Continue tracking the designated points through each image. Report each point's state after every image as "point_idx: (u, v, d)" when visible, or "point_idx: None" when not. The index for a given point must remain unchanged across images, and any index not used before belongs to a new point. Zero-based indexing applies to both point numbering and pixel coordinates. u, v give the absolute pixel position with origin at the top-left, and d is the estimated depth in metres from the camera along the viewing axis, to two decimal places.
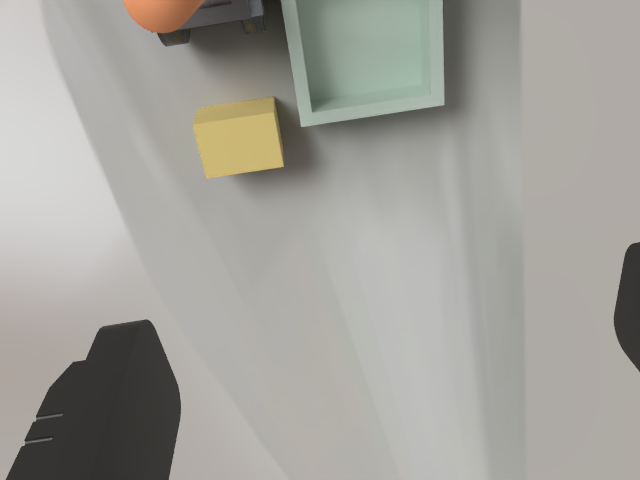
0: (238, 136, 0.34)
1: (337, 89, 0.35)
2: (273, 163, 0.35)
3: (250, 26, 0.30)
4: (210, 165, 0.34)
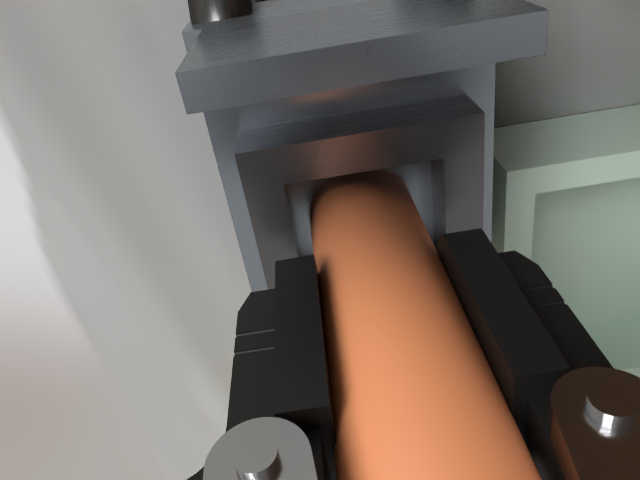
0: None
1: None
2: None
3: None
4: None
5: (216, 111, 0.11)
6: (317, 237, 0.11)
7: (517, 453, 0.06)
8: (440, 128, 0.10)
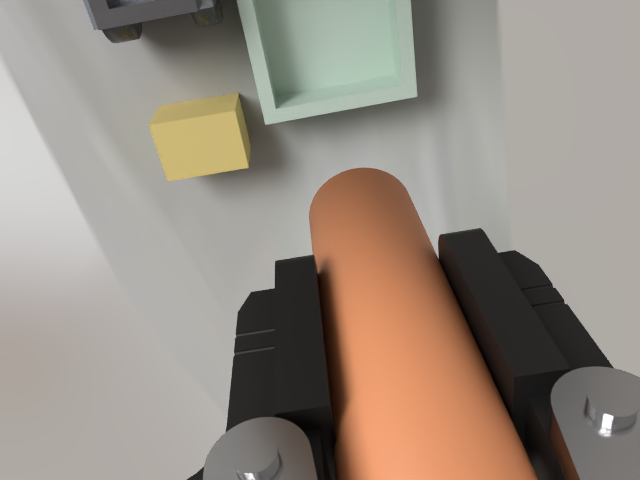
0: (199, 136, 0.32)
1: (304, 82, 0.33)
2: (237, 164, 0.33)
3: (202, 18, 0.28)
4: (171, 168, 0.32)
5: None
6: (317, 239, 0.11)
7: (515, 456, 0.06)
8: None
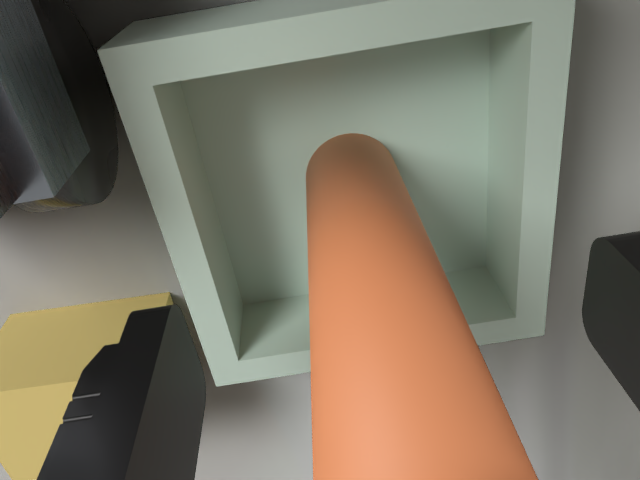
0: None
1: (301, 281, 0.16)
2: None
3: (42, 205, 0.11)
4: (18, 463, 0.15)
5: None
6: (309, 187, 0.13)
7: (448, 303, 0.08)
8: None
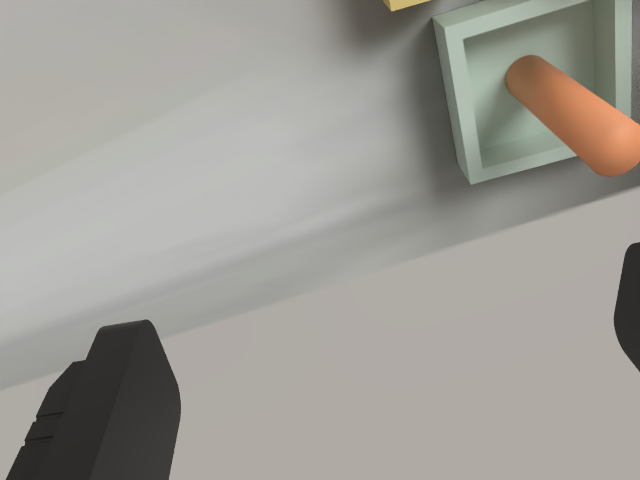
0: None
1: (465, 60, 0.30)
2: None
3: None
4: None
5: None
6: (548, 64, 0.28)
7: None
8: None
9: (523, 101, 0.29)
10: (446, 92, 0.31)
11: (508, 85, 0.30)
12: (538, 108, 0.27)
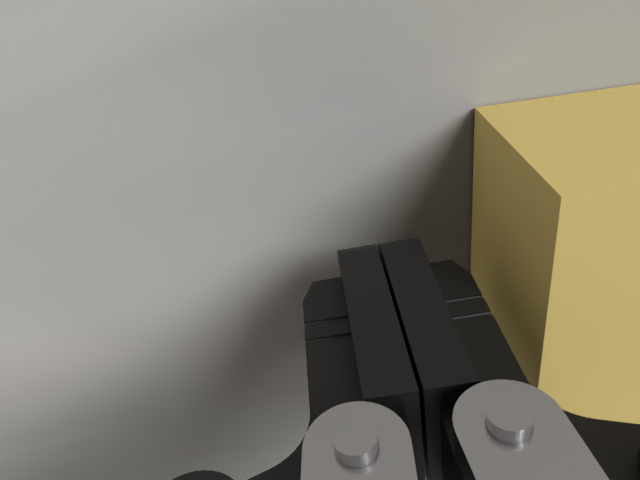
0: None
1: None
2: None
3: None
4: (620, 219, 0.07)
5: None
6: None
7: None
8: None
9: None
10: None
11: None
12: None
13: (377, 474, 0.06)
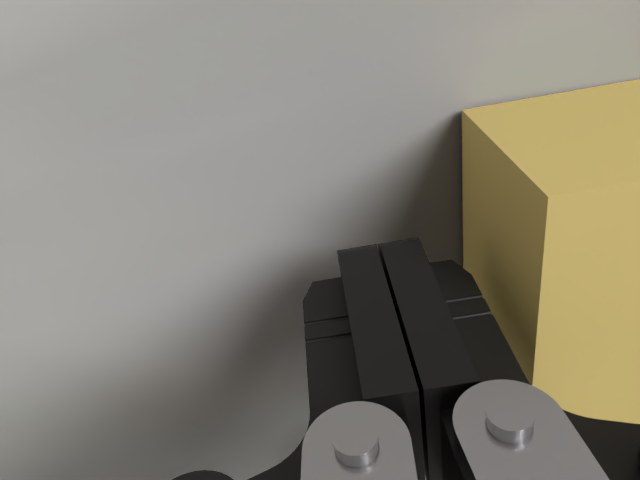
0: None
1: None
2: None
3: None
4: (606, 217, 0.07)
5: None
6: None
7: None
8: None
9: None
10: None
11: None
12: None
13: (377, 474, 0.06)
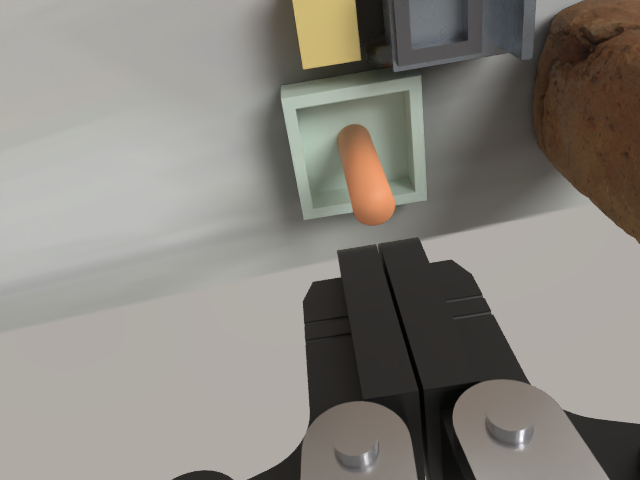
0: (337, 22, 0.32)
1: (306, 122, 0.38)
2: (307, 58, 0.33)
3: (379, 54, 0.33)
4: None
5: None
6: (363, 133, 0.37)
7: None
8: (479, 38, 0.30)
9: (341, 160, 0.37)
10: None
11: None
12: (343, 167, 0.35)
13: (377, 474, 0.06)
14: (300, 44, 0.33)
